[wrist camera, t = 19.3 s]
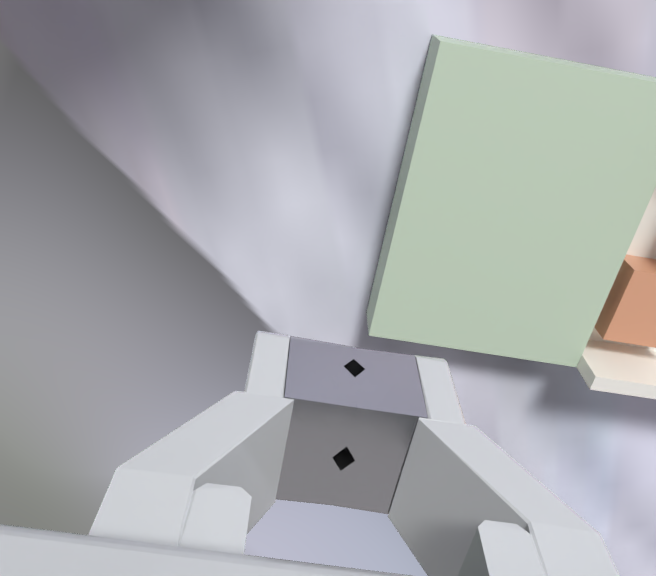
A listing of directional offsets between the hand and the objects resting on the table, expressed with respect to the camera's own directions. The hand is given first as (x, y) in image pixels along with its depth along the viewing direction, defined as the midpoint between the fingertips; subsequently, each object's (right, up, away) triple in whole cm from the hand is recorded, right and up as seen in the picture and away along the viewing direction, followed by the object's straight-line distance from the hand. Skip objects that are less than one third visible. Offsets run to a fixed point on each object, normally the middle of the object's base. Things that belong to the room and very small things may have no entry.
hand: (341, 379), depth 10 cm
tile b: (+20, +1, +31) cm, 37 cm away
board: (+11, +7, +29) cm, 32 cm away
